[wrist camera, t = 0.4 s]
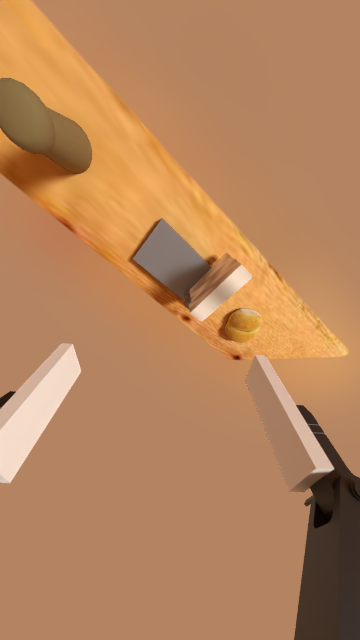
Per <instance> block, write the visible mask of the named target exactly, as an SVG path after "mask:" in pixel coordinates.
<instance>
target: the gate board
mask: <svg viewBox="0 0 360 640" xmlns="http://www.w3.org/2000/svg"><path fill="white" fill-rule="evenodd" d="M133 260H134V261H136V262H137V263H138V264H139V265H140V266H142V267H143V268H144V269H145V270H147V271H148V272H149V273H150V274H151V275H153V276H154V277H155V278H156V279H158V280H159V281H160V282H161V283H163V284H164V285H165V286H166V287H167V288H169V289H170V290H171V291H172V292H174V293H175V294H176V295H177V296H178V297H180V298H181V299H182V300H183V301H185V298H184V293H185V292H186V291H187V290H190V289H191V288H192V287H193V286H194V285H195V284H196V283H197V282H198V281H199V280H200V279H201V278H202V277H203V276H204V275H205V274H206V273H207V272H208V271H209V270H210V269H211V268H212V267H211V266H210V265H209V264H208V263H207V262H206V261H205V260H204V259H203V258H202V257H201V256H200V255H199V254H198V253H197V252H196V251H195V250H194V249H193V248H192V247H191V246H190V245H189V244H188V243H187V242H186V241H185V240H184V239H183V238H182V237H181V236H180V235H179V234H178V233H177V232H176V231H175V230H174V229H173V228H172V227H171V226H170V225H169V224H168V223H167V222H166V221H165V220H164V219H163V218H162V219H161V221H160V222H159V223H158V225H157V226H156V227H155V229H154V230H153V232H152V233H151V234H150V236H149V237H148V239H147V240H146V241H145V243H144V244H143V245H142V247H141V248H140V250H139V251H138V252H137V254H136V255H135V256H134V258H133Z"/></svg>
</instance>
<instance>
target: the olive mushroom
mask: <svg viewBox="0 0 360 640" xmlns="http://www.w3.org/2000/svg"><path fill="white" fill-rule="evenodd" d="M0 128H1V129H2V131H3V132H4V134H5V135H6V136H7V137H8V138H9V139H10V140H11V141H12V142H13V143H14V144H16V145H17V146H19V147H20V148H21V149H23V150H25V151H28V152H31V153H33V154H44V155H45V156H47V157H48V158H50V159H51V160H53V161H54V162H56V163H57V164H59V165H60V166H62V167H63V168H65V169H66V170H68V171H69V172H72V173H83V172H85V171H86V170H87V169H88V168H89V166H90V163H91V160H92V149H91V145H90V142H89V139H88V137H87V135H86V133H85V132H84V131H83V129H82V128H81V127H80V126H79V125H78V124H77V123H75V122H74V121H72V120H70V119H68V118H67V117H65V116H63V115H61V114H59V113H57V112H55V111H53V110H51V109H49V108H47V107H46V106H45V105H44V103H43V102H42V101H41V100H40V98H39V97H38V96H37V94H35V93H34V92H33V91H32V90H31V89H29V88H28V87H27V86H26V85H25V84H23V83H21V82H19V81H16V80H14V79H11V78H1V79H0Z"/></svg>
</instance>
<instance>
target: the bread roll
mask: <svg viewBox="0 0 360 640" xmlns="http://www.w3.org/2000/svg"><path fill="white" fill-rule="evenodd" d="M261 324H262V318H261V316H260V314H259V313H258V312H257V311H255V310H251V309H245V308H241V309H239V310H237V311H235V312H234V313H232V314H231V316H230V317H229V319H228V322H227V324H226V326H225V329H224V330H225V333H226V335H227V336H228V338H230V339H231V340H233V341H235V342H241V343H242V342H247V341H249V340H250V339H252V338H253V337H255V335H256V334H257V332H258V330H259V328H260V326H261Z"/></svg>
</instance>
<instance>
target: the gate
mask: <svg viewBox="0 0 360 640" xmlns="http://www.w3.org/2000/svg"><path fill="white" fill-rule="evenodd" d="M251 278H252V275H251V274H250V273H249V272H248V271H247V270H246V269H245V268H244V267H243V266H242V264H240V263H239V262H238V261H237V260H236V259H233V258H232V257H231V256H230V255H229V254H228V253H225V254H224V255H223V256H222V257H221V258H220V259H219V260H218V261H217V262H216V263H215V265H214V266H213V267H212V268H211V269H210V270H209V271H208V272H207V273H206V274H205V275H204V276H203V277H202V278H201V279H200V280H199V281H198V282H197V283H196V284H195V285H194V286H193V287H192V288H191V289H190V290H187V291H186V292H185V293H184V298H185V305H186V306H187V307H189V309H190V313H191V314H192V315H193V316H194V317H196V318H197V319H198V320H199V321H201V322H202V321H204V320H205V319H206V318H207V317H208V316H209V315H210V314H212V313H213V312H214V311H215V310H216V309H217V308H218V307H219V306H221V305H222V304H223V303H224V302H225V301H226V300H227V299H229V298H230V297H231V296H232V295H233V294H234V293H235V292H237V291H238V290H239V289H240V288H241V287H242V286H243V285H244V284H246V283H247V282H248V281H249V280H250V279H251Z"/></svg>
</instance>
